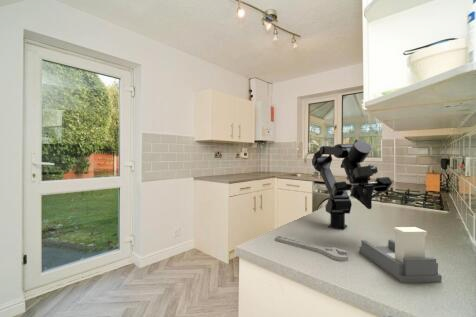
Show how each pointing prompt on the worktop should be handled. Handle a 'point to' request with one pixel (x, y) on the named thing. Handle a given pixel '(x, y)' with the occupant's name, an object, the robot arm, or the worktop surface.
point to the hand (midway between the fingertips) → (370, 208)
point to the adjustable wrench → (317, 248)
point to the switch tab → (409, 243)
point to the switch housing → (405, 272)
